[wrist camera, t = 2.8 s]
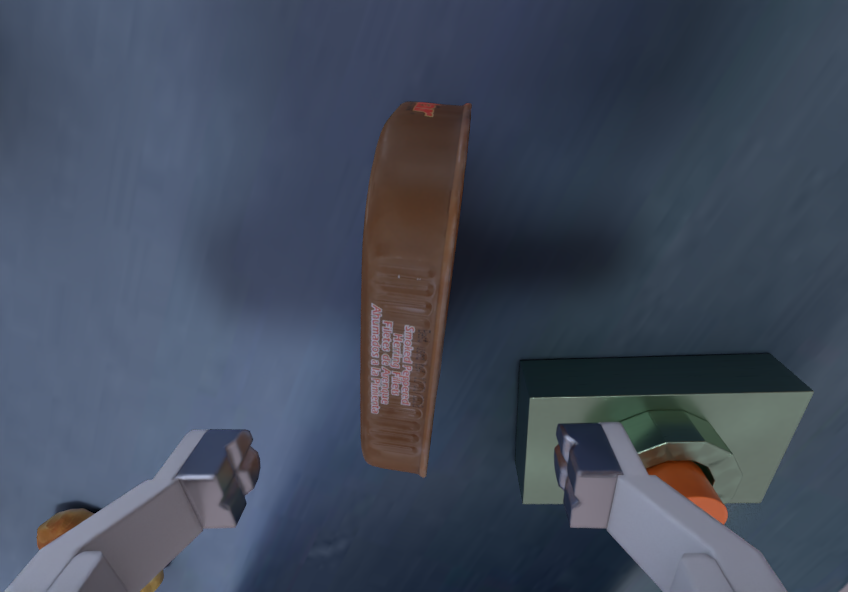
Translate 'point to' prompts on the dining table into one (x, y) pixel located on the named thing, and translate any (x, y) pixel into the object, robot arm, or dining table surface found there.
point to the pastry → (68, 521)
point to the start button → (691, 486)
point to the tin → (408, 278)
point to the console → (664, 416)
